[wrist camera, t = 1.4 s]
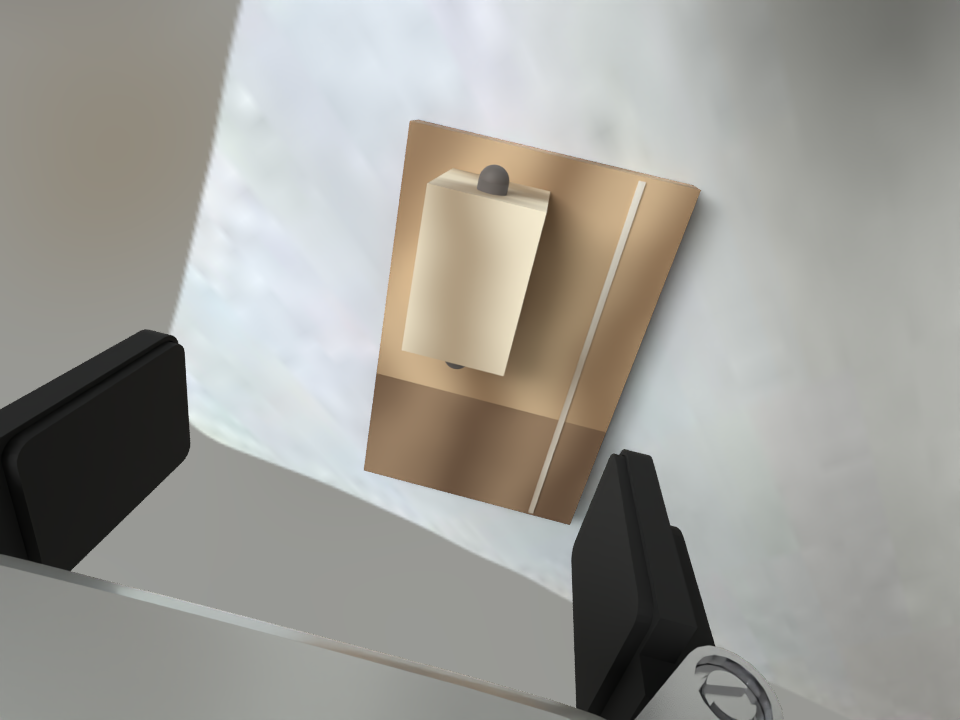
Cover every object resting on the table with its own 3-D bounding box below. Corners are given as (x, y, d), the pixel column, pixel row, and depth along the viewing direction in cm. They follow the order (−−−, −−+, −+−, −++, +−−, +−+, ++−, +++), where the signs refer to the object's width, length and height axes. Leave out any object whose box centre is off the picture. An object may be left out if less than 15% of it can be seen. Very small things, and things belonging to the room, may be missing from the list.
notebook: (693, 185, 24) (701, 190, 22) (569, 507, 33) (569, 526, 32) (418, 119, 24) (409, 120, 23) (371, 455, 34) (363, 471, 32)
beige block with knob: (556, 168, 23) (553, 184, 19) (509, 347, 27) (498, 395, 23) (457, 144, 23) (431, 154, 19) (425, 326, 27) (398, 370, 23)
